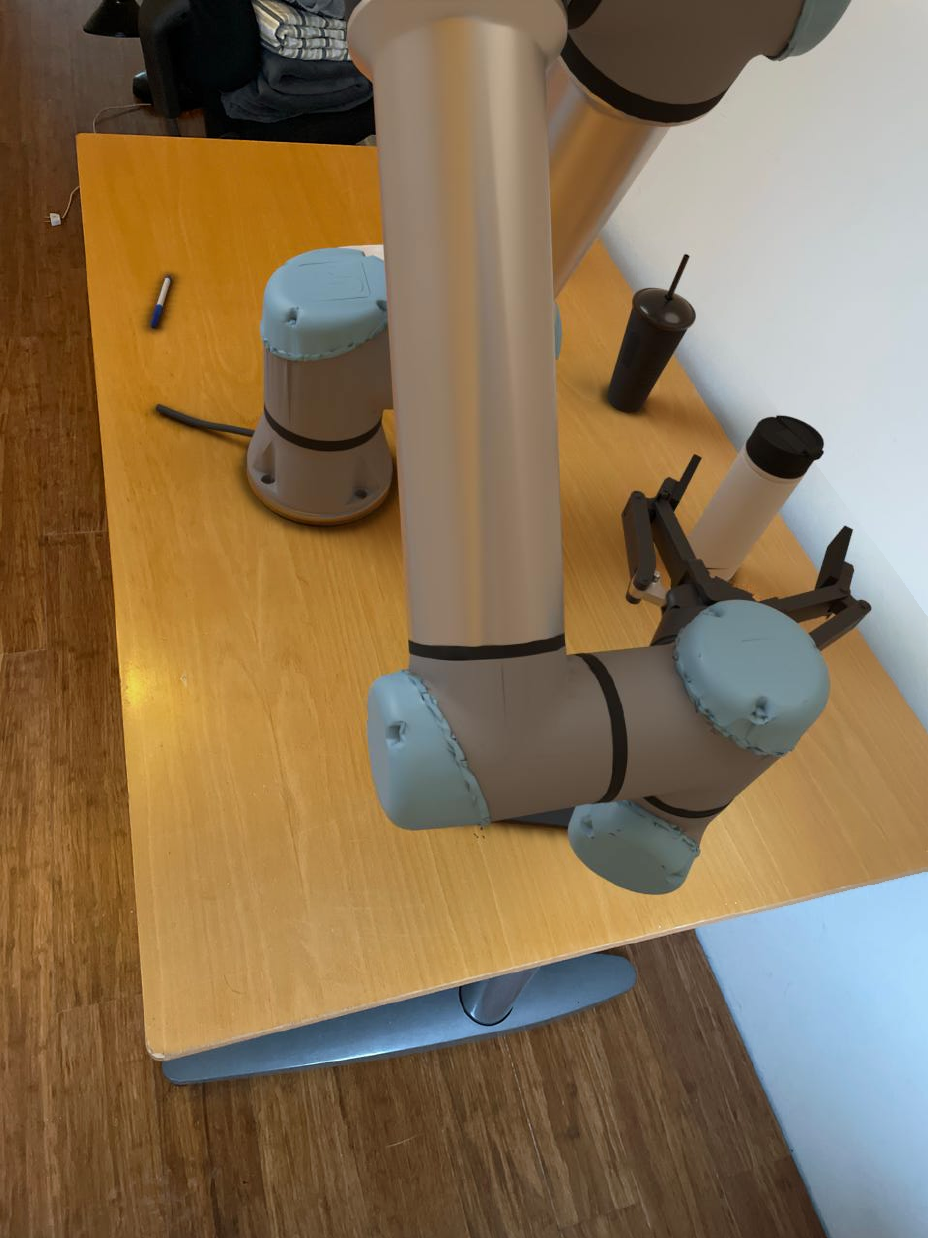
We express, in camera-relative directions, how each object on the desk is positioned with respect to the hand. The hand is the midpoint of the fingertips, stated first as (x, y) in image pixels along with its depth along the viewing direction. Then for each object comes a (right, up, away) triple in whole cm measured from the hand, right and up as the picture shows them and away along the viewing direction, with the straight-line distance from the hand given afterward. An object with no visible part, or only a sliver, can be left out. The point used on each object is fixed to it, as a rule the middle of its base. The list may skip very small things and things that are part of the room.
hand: (764, 501), depth 69 cm
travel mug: (+1, -4, +21) cm, 21 cm away
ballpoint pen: (-63, +29, +31) cm, 75 cm away
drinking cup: (-5, +18, +36) cm, 41 cm away
